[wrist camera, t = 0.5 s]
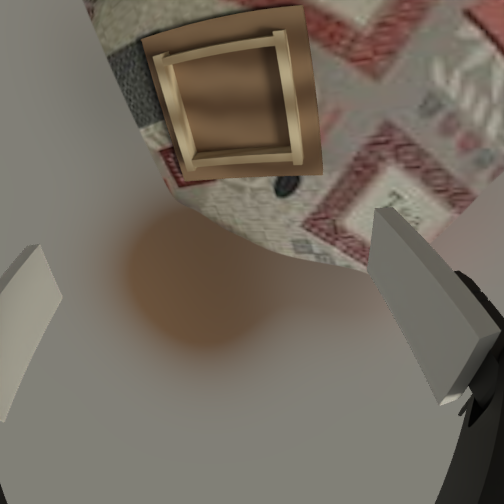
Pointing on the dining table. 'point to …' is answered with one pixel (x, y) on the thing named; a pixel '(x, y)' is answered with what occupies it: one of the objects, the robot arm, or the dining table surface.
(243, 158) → the pot stand
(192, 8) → the dining table surface
